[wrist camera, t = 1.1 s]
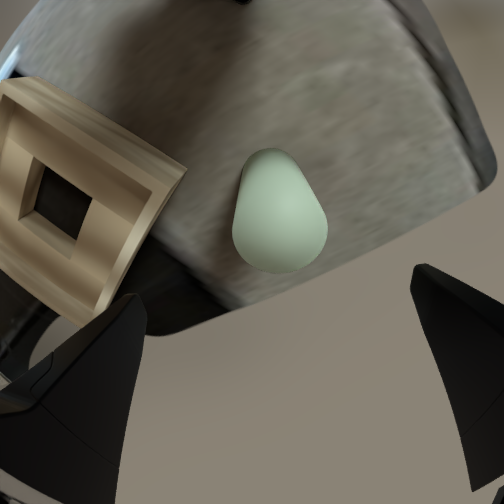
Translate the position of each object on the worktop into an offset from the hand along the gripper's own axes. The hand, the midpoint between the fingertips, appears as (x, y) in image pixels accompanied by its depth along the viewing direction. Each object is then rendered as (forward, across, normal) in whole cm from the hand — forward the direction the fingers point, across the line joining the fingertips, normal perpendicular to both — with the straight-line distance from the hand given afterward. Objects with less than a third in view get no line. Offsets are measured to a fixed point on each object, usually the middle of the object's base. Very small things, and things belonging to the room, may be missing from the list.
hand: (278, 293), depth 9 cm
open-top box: (+13, +17, -1) cm, 21 cm away
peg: (+13, 0, 0) cm, 13 cm away
